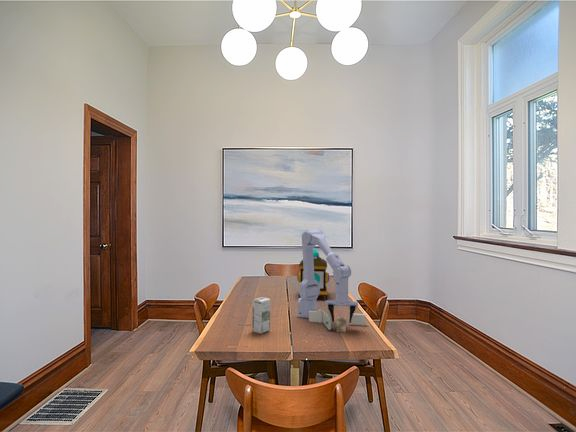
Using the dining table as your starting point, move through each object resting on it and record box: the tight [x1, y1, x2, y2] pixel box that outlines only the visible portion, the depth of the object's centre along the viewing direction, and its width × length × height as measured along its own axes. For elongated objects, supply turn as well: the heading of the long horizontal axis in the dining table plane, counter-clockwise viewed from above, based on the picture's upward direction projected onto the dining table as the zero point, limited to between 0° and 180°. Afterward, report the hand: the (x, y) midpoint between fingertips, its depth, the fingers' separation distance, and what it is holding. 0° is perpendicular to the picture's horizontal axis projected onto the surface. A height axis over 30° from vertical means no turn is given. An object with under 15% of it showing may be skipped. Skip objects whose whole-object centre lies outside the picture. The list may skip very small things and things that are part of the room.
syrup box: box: [251, 296, 271, 335], centre depth 151 cm, size 6×6×14 cm
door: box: [322, 310, 332, 331], centre depth 157 cm, size 11×2×5 cm, turn 8°
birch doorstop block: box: [336, 316, 347, 333], centre depth 154 cm, size 4×8×4 cm, turn 168°
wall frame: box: [308, 308, 366, 326], centre depth 161 cm, size 27×2×6 cm, turn 78°
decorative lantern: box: [296, 248, 331, 301], centre depth 210 cm, size 20×20×30 cm
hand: (341, 321), depth 154 cm, fingers open, 7 cm apart
